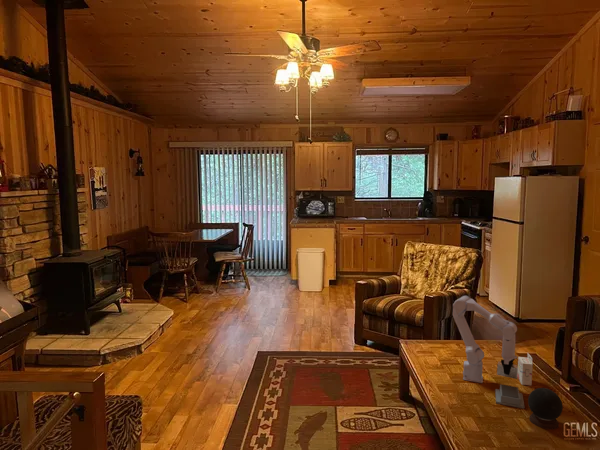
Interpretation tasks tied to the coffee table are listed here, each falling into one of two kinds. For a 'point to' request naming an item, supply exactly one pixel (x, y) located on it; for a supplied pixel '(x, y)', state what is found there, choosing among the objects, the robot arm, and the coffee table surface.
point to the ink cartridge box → (525, 370)
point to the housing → (512, 373)
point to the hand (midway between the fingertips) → (507, 372)
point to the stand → (509, 396)
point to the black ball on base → (545, 408)
